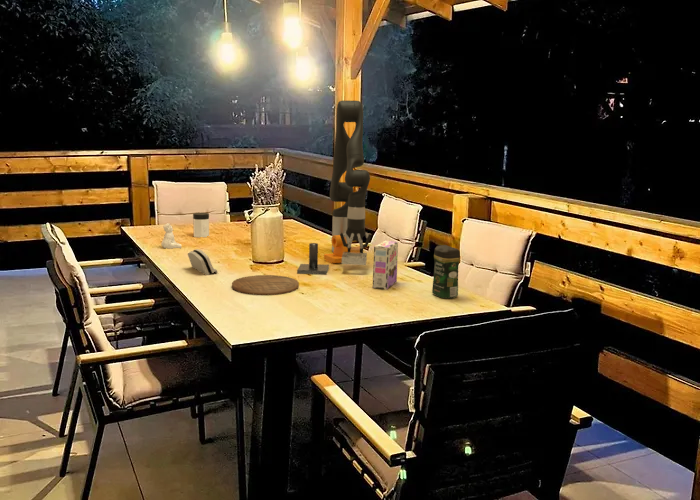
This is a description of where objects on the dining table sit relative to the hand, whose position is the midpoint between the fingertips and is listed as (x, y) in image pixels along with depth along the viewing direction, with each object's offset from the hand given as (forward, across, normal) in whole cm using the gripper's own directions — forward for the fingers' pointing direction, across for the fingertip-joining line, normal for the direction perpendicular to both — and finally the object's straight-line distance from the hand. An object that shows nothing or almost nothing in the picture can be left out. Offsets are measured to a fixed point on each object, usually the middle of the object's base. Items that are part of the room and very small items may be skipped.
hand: (355, 256), depth 291 cm
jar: (+7, +84, -62) cm, 105 cm away
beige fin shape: (+5, +62, +17) cm, 65 cm away
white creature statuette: (+6, +90, -29) cm, 95 cm away
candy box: (+4, -13, +30) cm, 33 cm away
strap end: (+1, 0, +5) cm, 5 cm away
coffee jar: (+4, -35, +43) cm, 56 cm away
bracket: (+5, +9, -10) cm, 14 cm away
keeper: (+5, +17, +10) cm, 20 cm away
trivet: (+5, +32, +39) cm, 51 cm away
